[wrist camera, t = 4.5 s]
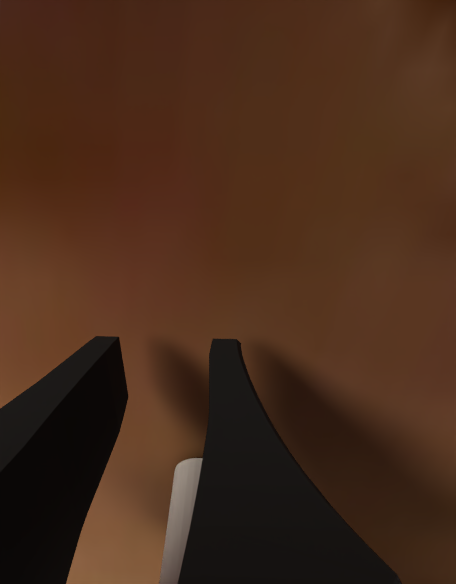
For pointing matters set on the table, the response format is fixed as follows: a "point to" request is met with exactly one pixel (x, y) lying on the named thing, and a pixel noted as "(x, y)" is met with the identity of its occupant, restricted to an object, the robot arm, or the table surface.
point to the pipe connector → (179, 518)
